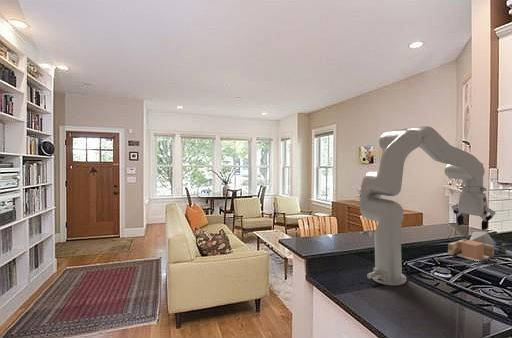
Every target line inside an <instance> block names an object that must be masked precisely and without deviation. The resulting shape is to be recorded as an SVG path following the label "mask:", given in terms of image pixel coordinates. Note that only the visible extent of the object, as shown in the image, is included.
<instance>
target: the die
mask: <svg viewBox="0 0 512 338" xmlns="http://www.w3.org/2000/svg"><path fill="white" fill-rule="evenodd" d="M469 240H472V241H476V242H480V243H484V244H488V245H492V246H494V242H495V241H494V239H493V238H492V237H491V235H490V234H489V233H488V232H483V231H473V233H472V235H471V236H470V238H469Z"/></svg>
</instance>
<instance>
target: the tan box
mask: <svg viewBox="0 0 512 338" xmlns="http://www.w3.org/2000/svg"><path fill="white" fill-rule="evenodd" d="M468 240H469V239H466V238H463V239H460V240H456V241H453V242H449V243H447V255H449V256H454V255H456V257H460V258H463V259H467V260H470V261H473V260H474V262H477V261H478V262H477V263H479V261H480V262H482V261H486V260H488V259H490V258H495V245H488V244H484V257H481V258H479V259H474V258H470V257H467V256H463V255H462V242H464V241H468Z"/></svg>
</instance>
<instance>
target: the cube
mask: <svg viewBox="0 0 512 338" xmlns="http://www.w3.org/2000/svg"><path fill="white" fill-rule="evenodd" d="M467 240H468V241H464V242H462V252H461V253H462V255H463V256H467V257H470V258H474V259H479V258H481V257H484V243H480V242H476V241H472V240H470V239H467Z"/></svg>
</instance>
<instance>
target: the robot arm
mask: <svg viewBox="0 0 512 338" xmlns="http://www.w3.org/2000/svg"><path fill="white" fill-rule="evenodd" d="M378 143H379V147H380V148H381V150H383V152H382V154H381V157H380V159H379V160H380V161H379V167H378V168H379V169H378V170H371V171H368V172H367V173H366V174H365V175H364V176H363V178H362V181H361V185H360V187H361V188H360V199H359V211H360V212H359V213H360V214H361V216H362V217H364V218H365V219H367V220H370V221H374V222H377V223H378V224H377V226H376V228H375V230H374V236H373V237H374V266H375V267H373V270H372V272H371V271H370V272H369V273H367V274H366V276H367V279H372V280H373V281H374V282H376V283H379V284H382V285H385V286H392V287H394V286H395V287H396V286H402V285H404V284H406V282H407V276H406V275H405V274H404V273H402V272H403V268H402V224H403V220H404V208H403V206H402V205H401V204H400V203H398V201H395V200H392V199H386V198H381V196H384V197H385V196H386V197H396V196H399V194H400V193H401V190H402V185H403V177H404V176H403V175H404V166H405V161H406V159H407V157H408V156H409V155H410V154H411V153H412V152H413V151H414V150H415V151H416V149H417V148H419V149H422V151H423V152H425V154H427V155H428V156H429V157H430V159H432V160H433V161H435V162H439V163H441V164H445V165H446V166H445V167H444V173H445V175H446V177H448V178H449V179H453V180H461V181H462V183H461V184H462V185H461V190H462V191H461V192H460V194H459V198H458V203H456V204H453V205H452V206H451V209H452V212H453V213H454V214H455V216H456V218H457V221H456V222H457V226H463V225H464V216H463V215H470V216H477V217H480V218H481V219H482V221H481V231H486V230H487V229H488V228H489V221H490V220H492V219H493V218H494V217H495V215H496V214H497V212H496V211H494V210H493V209H491V208H489V205H488V198H487V194H486V191H487V187H485V186H484V176H485V168H484V164H483V162H481V161H480V160H479V159H478V158H477V157H476V156H474V155H473V154H472V153H470V152H467V151H465V150H463V149H461V148H458V147H455V146H453V145H451V144H450V143H449V142H448V141H447V140H446V139H445V138H444V137H443V136H442V135H441V134H440V133H439V132H438V131H437V130H436V129H435V128H434V127H432V126H429V125H428V126H425V125H424V126H417V127H416V126H415V127H408V128H402V129H396V130H391V131H385V132H384V133H383V134H381V135H380V137H379V140H378ZM488 213H489V215H488Z"/></svg>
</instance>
